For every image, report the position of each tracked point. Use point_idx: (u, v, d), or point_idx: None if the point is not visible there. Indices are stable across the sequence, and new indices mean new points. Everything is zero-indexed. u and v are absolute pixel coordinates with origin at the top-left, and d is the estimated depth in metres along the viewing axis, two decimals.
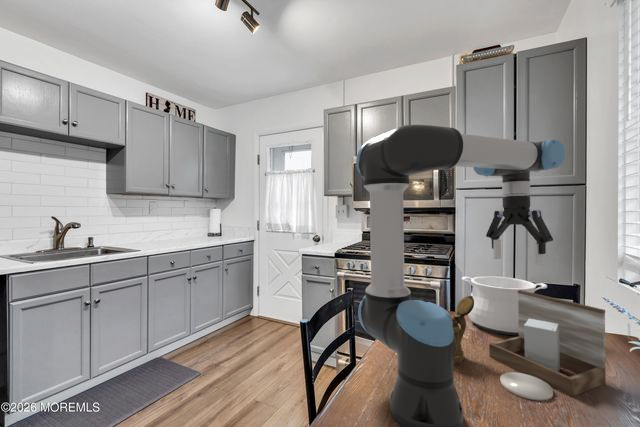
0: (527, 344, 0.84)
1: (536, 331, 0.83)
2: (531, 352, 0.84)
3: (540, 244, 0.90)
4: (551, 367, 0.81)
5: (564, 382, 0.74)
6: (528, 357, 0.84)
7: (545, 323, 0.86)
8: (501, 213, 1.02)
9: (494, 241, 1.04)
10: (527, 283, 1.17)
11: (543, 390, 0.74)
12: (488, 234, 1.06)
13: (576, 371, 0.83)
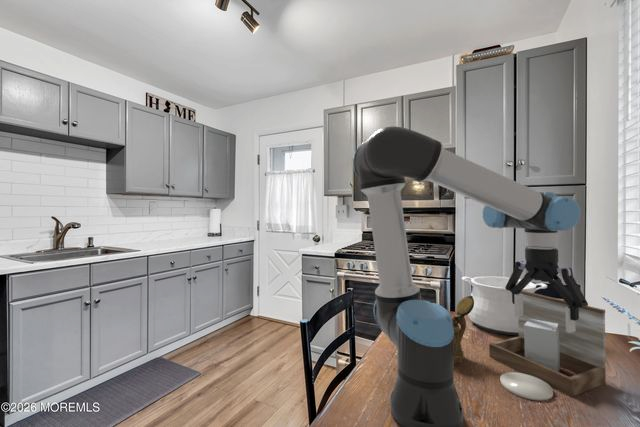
0: (527, 344, 0.84)
1: (536, 331, 0.83)
2: (531, 352, 0.84)
3: (572, 309, 0.78)
4: (551, 367, 0.81)
5: (564, 382, 0.74)
6: (528, 357, 0.84)
7: (545, 323, 0.86)
8: (523, 265, 0.89)
9: (515, 296, 0.91)
10: None
11: (543, 390, 0.74)
12: (508, 287, 0.93)
13: (576, 371, 0.83)
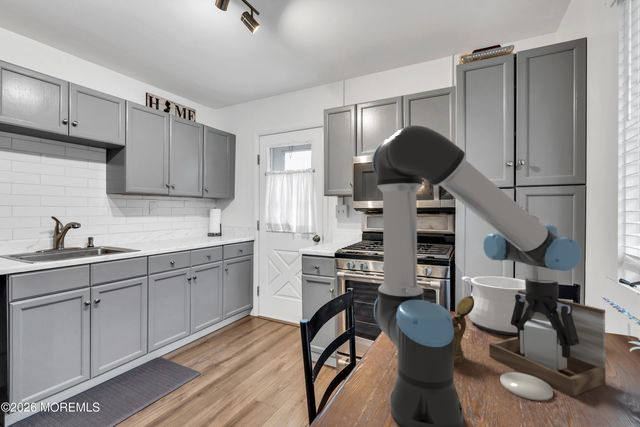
0: (527, 344, 0.84)
1: (536, 331, 0.83)
2: (531, 352, 0.84)
3: (563, 346, 0.80)
4: (551, 367, 0.81)
5: (564, 382, 0.74)
6: (528, 357, 0.84)
7: (545, 323, 0.86)
8: (523, 297, 0.89)
9: (521, 332, 0.89)
10: None
11: (543, 390, 0.74)
12: (513, 322, 0.92)
13: (576, 371, 0.83)
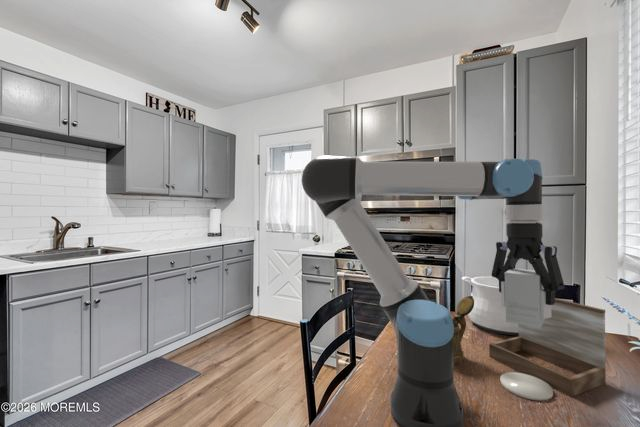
0: (508, 293, 0.76)
1: (518, 278, 0.74)
2: (512, 302, 0.75)
3: (547, 292, 0.71)
4: (534, 316, 0.72)
5: (564, 382, 0.74)
6: (509, 307, 0.76)
7: (528, 270, 0.77)
8: (505, 244, 0.81)
9: (502, 284, 0.81)
10: None
11: (543, 390, 0.74)
12: (494, 273, 0.83)
13: (576, 371, 0.83)
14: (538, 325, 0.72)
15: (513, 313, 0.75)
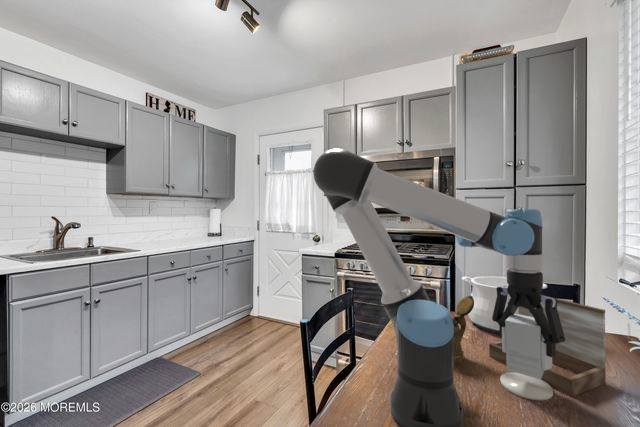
0: (509, 341, 0.76)
1: (518, 327, 0.74)
2: (513, 351, 0.75)
3: (547, 343, 0.71)
4: (534, 367, 0.72)
5: (564, 382, 0.74)
6: (509, 356, 0.76)
7: (529, 318, 0.77)
8: (505, 290, 0.81)
9: (503, 329, 0.81)
10: None
11: (543, 390, 0.74)
12: (494, 317, 0.83)
13: (576, 371, 0.83)
14: (539, 376, 0.72)
15: (513, 362, 0.75)
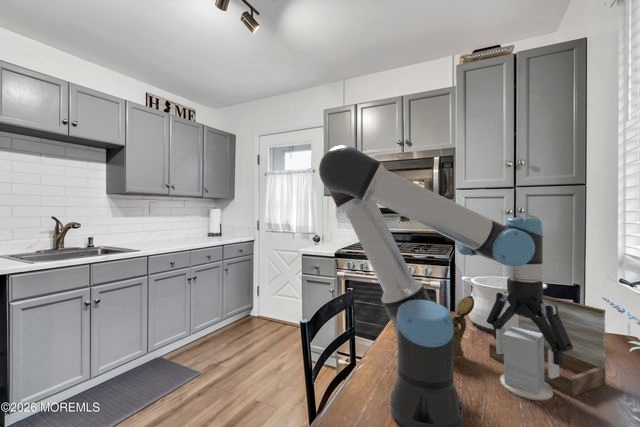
0: (506, 355, 0.76)
1: (516, 341, 0.75)
2: (511, 365, 0.76)
3: (556, 352, 0.69)
4: (531, 382, 0.73)
5: (564, 382, 0.74)
6: (507, 370, 0.76)
7: (528, 332, 0.77)
8: (505, 297, 0.81)
9: (497, 331, 0.82)
10: None
11: (543, 390, 0.74)
12: (489, 320, 0.84)
13: (576, 371, 0.83)
14: (536, 391, 0.72)
15: (511, 376, 0.76)
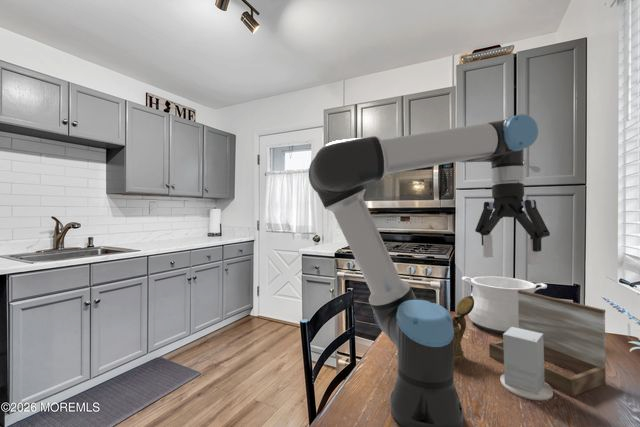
0: (506, 355, 0.76)
1: (516, 341, 0.75)
2: (511, 365, 0.76)
3: (535, 240, 0.76)
4: (531, 382, 0.73)
5: (564, 382, 0.74)
6: (507, 370, 0.76)
7: (528, 332, 0.77)
8: (491, 204, 0.88)
9: (484, 237, 0.90)
10: (527, 283, 1.17)
11: (543, 390, 0.74)
12: (477, 229, 0.92)
13: (576, 371, 0.83)
14: (536, 391, 0.72)
15: (511, 376, 0.76)
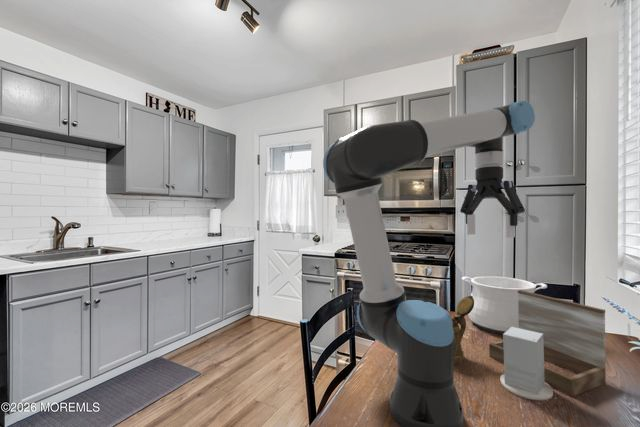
0: (506, 355, 0.76)
1: (516, 341, 0.75)
2: (511, 365, 0.76)
3: (512, 215, 0.87)
4: (531, 382, 0.73)
5: (564, 382, 0.74)
6: (507, 370, 0.76)
7: (528, 332, 0.77)
8: (475, 187, 0.98)
9: (468, 216, 1.00)
10: (527, 283, 1.17)
11: (543, 390, 0.74)
12: (462, 209, 1.02)
13: (576, 371, 0.83)
14: (536, 391, 0.72)
15: (511, 376, 0.76)
